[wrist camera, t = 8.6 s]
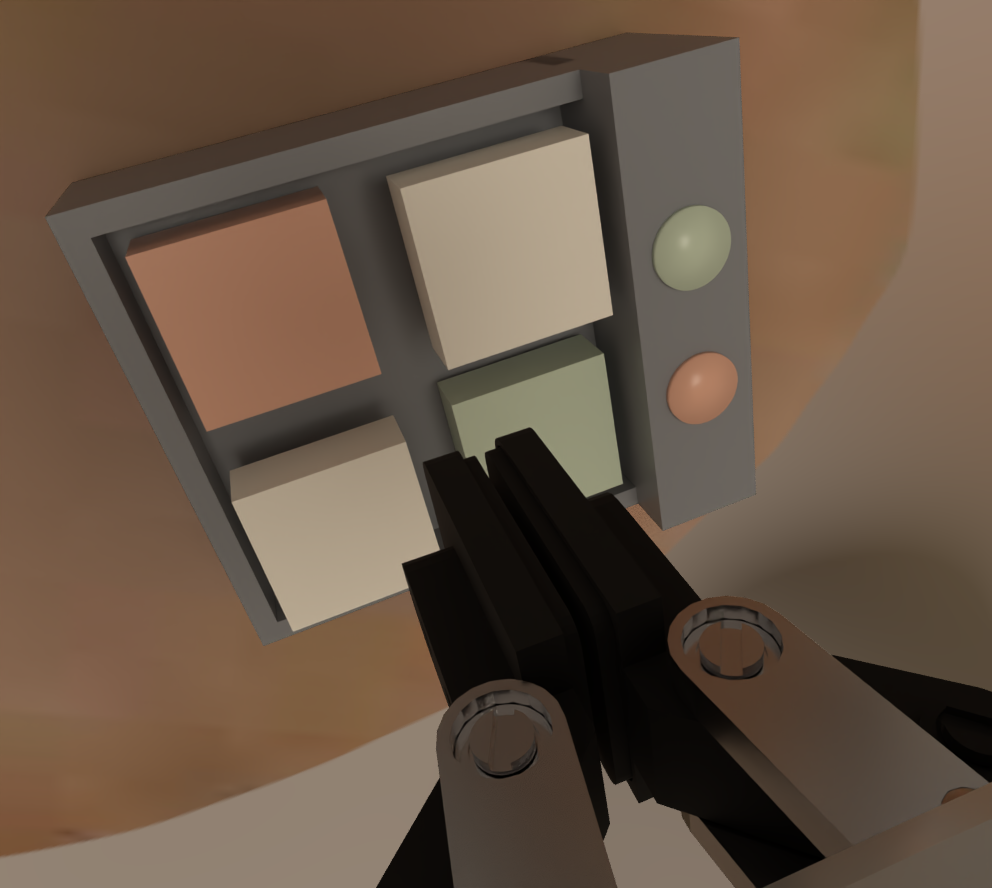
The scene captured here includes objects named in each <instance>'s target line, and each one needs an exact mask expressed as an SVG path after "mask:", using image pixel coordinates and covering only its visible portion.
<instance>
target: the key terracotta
mask: <svg viewBox="0 0 992 888" xmlns="http://www.w3.org/2000/svg"><path fill="white" fill-rule="evenodd" d="M125 258H126V260H127V262H128V265H129V267H130V269H131V271H132V273H133V275H134V277H135V280H136V282H137V284H138V286H139V288H140V290H141V292H142V294H143V297H144V299H145V301H146V303H147V305H148V307H149V309H150V312H151V314H152V316H153V318H154V320H155V322H156V324H157V326H158V329H159V331H160V333H161V335H162V337H163V339H164V341H165V344H166V346H167V348H168V350H169V352H170V354H171V356H172V358H173V361H174V363H175V365H176V367H177V369H178V371H179V373H180V376H181V378H182V380H183V382H184V384H185V386H186V388H187V390H188V393H189V395H190V397H191V399H192V401H193V403H194V405H195V408H196V410H197V412H198V414H199V416H200V418H201V420H202V422H203V425H204V427H205V429H206V431H210V430H214V429H217V428H220V427H223V426H226V425H229V424H232V423H235V422H238V421H241V420H244V419H247V418H250V417H253V416H256V415H259V414H262V413H265V412H268V411H271V410H274V409H277V408H280V407H283V406H286V405H289V404H292V403H295V402H298V401H301V400H304V399H307V398H310V397H313V396H316V395H319V394H322V393H325V392H328V391H331V390H334V389H337V388H340V387H343V386H347V385H350V384H353V383H356V382H359V381H362V380H365V379H368V378H371V377H374V376H377V375H380V374H381V370H380V367H379V364H378V361H377V358H376V355H375V351H374V348H373V345H372V342H371V339H370V336H369V332H368V329H367V326H366V323H365V320H364V317H363V314H362V310H361V307H360V304H359V301H358V298H357V295H356V291H355V288H354V285H353V282H352V279H351V276H350V272H349V269H348V266H347V263H346V260H345V257H344V253H343V250H342V247H341V244H340V241H339V238H338V234H337V231H336V228H335V225H334V222H333V219H332V215H331V212H330V209H329V206H328V203H327V200H326V198H325V196H324V195H323V193H322V192H321V190H320V189H319V187H318V186H317V187H313V188H310V189H306V190H303V191H299V192H296V193H292V194H289V195H285V196H282V197H278V198H275V199H271V200H268V201H264V202H261V203H257V204H254V205H250V206H247V207H243V208H240V209H236V210H233V211H229V212H226V213H222V214H219V215H215V216H212V217H208V218H205V219H201V220H198V221H194V222H191V223H187V224H184V225H180V226H177V227H173V228H170V229H166V230H163V231H159V232H156V233H152V234H149V235H145V236H142V237H138V238H135V239H131V240H130V243H129V247H128V250H127V253H126V256H125Z"/></svg>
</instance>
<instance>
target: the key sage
mask: <svg viewBox="0 0 992 888" xmlns="http://www.w3.org/2000/svg"><path fill="white" fill-rule="evenodd" d="M437 385H438V389H439V392H440V396H441V399H442V403H443V407H444V410H445V414H446V417H447V421H448V425H449V428H450V432H451V436H452V439H453V443H454V446H455V450H456V451H459V452H460V454H461V455H462V457H463V459H465V458H468V457H471V456H476V457H477V459H478V460H479V462H480V464H481V465H482V467H483V469H484V470H485V472H486V474H487V475H488V470H487V465H486V461H485V452H486V451H489V450H492V449H495V439H496V438H498V437H501V436H504V435H507V434H510V433H513V432H516V431H520V430H523V429H526V428H529V427H530V428H532V429H533V430H534V431H535V432H536V433H537V435H538V436H539V437H540V439H541V440H542V441H543V442H544V444H545V445H546V446H547V448H548V449H549V450H550V452H551V453H552V454H553V455H554V457H555V458H556V459H557V461H558V462H559V463H560V465H561V466H562V467H563V468H564V470H565V471H566V472H567V474H568V475H569V476H570V478H571V479H572V480H573V481H574V483H575V484H576V485H577V487H578V488H579V489H580V491H581V492H582V493H583V494H584V496H585V497H589V496H591V495H594V494H597V493H599V492H602V491H605V490H607V489H610V488H613V487H615V486H618V485H621V484H623V481H622V474H621V467H620V460H619V454H618V447H617V440H616V433H615V426H614V419H613V413H612V406H611V399H610V392H609V385H608V378H607V371H606V365H605V358H604V353H603V352H601V351H600V350H599V349H598V348H597V347H595V346H594V345H593V344H592V343H591V342H590V341H588V340H587V339H586V338H585V337H584V336H582V335H581V334H580V335H577V336H574V337H571V338H568V339H565V340H562V341H559V342H556V343H553V344H550V345H547V346H544V347H541V348H538V349H535V350H532V351H529V352H526V353H523V354H520V355H517V356H514V357H511V358H508V359H505V360H502V361H499V362H496V363H493V364H490V365H487V366H484V367H482V368H479V369H476V370H473V371H470V372H467V373H464V374H461V375H458V376H455V377H452V378H449V379H446V380H443V381H440V382H437ZM488 477H489V475H488Z"/></svg>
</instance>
